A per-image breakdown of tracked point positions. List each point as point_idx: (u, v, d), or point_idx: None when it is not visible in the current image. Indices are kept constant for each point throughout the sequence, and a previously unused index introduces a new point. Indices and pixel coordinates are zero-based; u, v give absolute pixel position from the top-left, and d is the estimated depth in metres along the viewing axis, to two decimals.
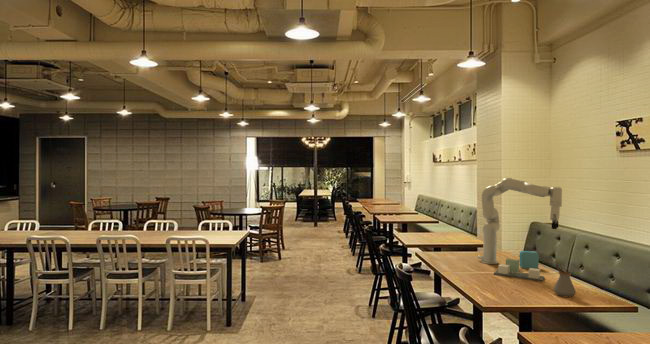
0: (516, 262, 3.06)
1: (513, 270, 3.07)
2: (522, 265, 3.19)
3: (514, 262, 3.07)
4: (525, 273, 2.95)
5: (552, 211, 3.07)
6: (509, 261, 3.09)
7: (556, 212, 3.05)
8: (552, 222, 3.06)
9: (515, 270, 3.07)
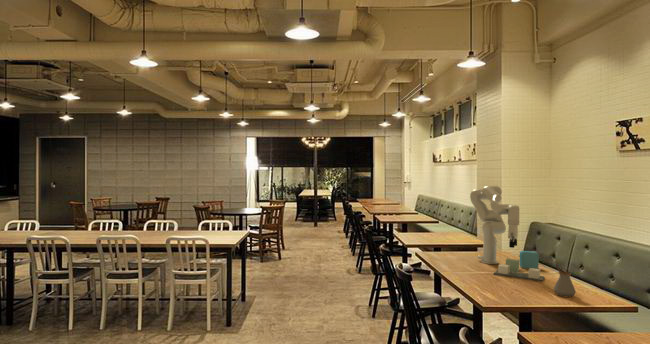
0: (516, 262, 3.06)
1: (513, 270, 3.07)
2: (522, 265, 3.19)
3: (514, 262, 3.07)
4: (525, 273, 2.95)
5: (510, 229, 3.06)
6: (509, 261, 3.09)
7: (514, 230, 3.05)
8: (510, 241, 3.05)
9: (515, 270, 3.07)
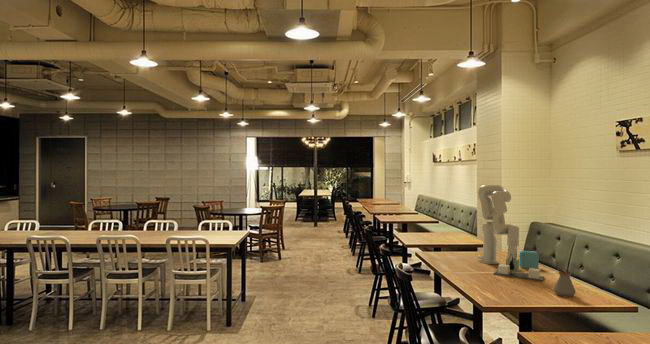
0: (516, 262, 3.06)
1: (513, 270, 3.07)
2: (522, 265, 3.19)
3: (514, 262, 3.07)
4: (525, 273, 2.95)
5: (509, 250, 3.06)
6: (509, 261, 3.09)
7: (513, 251, 3.05)
8: (509, 263, 3.07)
9: (515, 270, 3.06)
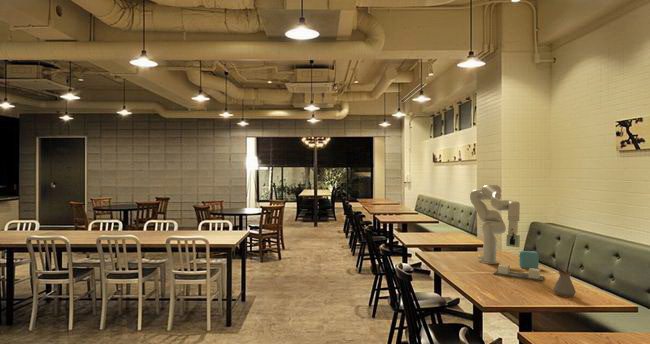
0: (517, 237, 3.06)
1: (514, 245, 3.07)
2: (522, 265, 3.19)
3: (515, 237, 3.06)
4: (525, 273, 2.95)
5: (510, 225, 3.06)
6: None
7: (514, 226, 3.04)
8: (510, 238, 3.07)
9: (516, 245, 3.06)
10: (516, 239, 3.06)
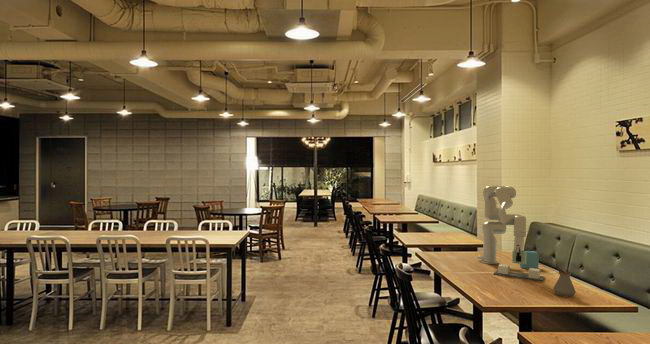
0: (523, 254, 2.89)
1: (520, 262, 2.91)
2: (522, 265, 3.19)
3: (521, 254, 2.90)
4: (525, 273, 2.95)
5: (516, 241, 2.90)
6: None
7: (520, 243, 2.88)
8: (516, 255, 2.90)
9: (522, 262, 2.90)
10: (523, 256, 2.90)
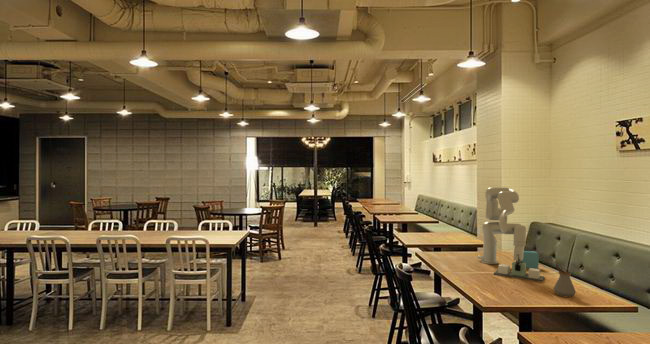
0: (523, 265, 2.90)
1: (520, 274, 2.91)
2: None
3: (521, 265, 2.91)
4: None
5: (515, 251, 2.90)
6: None
7: (520, 252, 2.89)
8: (515, 264, 2.90)
9: (522, 274, 2.90)
10: (522, 268, 2.90)
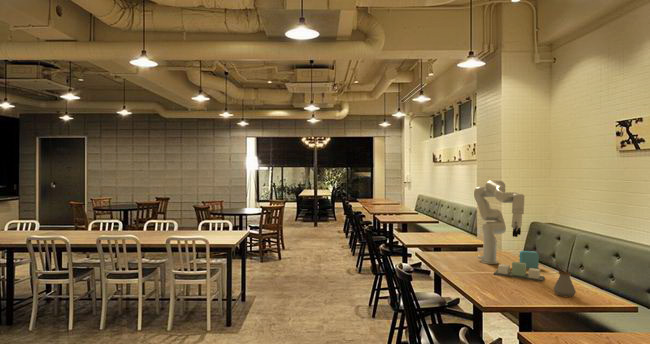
0: (523, 265, 2.90)
1: (520, 274, 2.91)
2: None
3: (521, 265, 2.91)
4: None
5: (513, 218, 3.01)
6: (515, 264, 2.93)
7: (518, 219, 2.99)
8: (513, 230, 3.00)
9: (522, 274, 2.90)
10: (522, 268, 2.90)
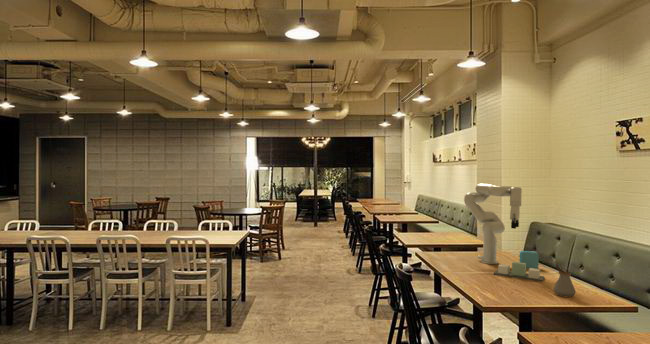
0: (523, 265, 2.90)
1: (520, 274, 2.91)
2: None
3: (521, 265, 2.91)
4: None
5: (512, 211, 3.11)
6: (515, 264, 2.93)
7: (516, 211, 3.10)
8: (511, 221, 3.10)
9: (522, 274, 2.90)
10: (522, 268, 2.90)
